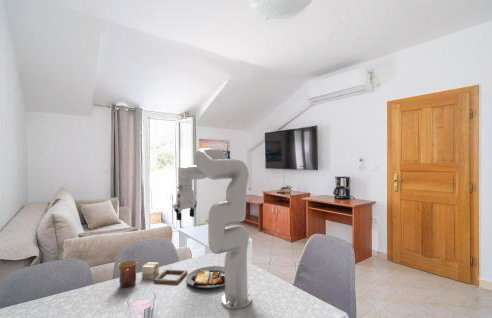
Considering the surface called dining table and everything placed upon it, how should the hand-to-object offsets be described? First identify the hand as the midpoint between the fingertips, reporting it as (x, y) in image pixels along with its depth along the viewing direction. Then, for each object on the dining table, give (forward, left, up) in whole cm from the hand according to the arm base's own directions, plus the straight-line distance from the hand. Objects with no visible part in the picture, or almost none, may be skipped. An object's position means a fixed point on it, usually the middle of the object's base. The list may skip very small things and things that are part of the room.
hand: (185, 218), depth 145 cm
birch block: (-12, +15, -28) cm, 34 cm away
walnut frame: (-13, +3, -28) cm, 31 cm away
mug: (-24, +20, -28) cm, 42 cm away
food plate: (-12, -18, -28) cm, 36 cm away
